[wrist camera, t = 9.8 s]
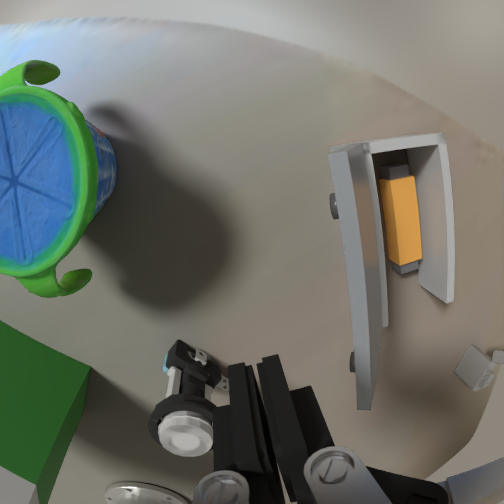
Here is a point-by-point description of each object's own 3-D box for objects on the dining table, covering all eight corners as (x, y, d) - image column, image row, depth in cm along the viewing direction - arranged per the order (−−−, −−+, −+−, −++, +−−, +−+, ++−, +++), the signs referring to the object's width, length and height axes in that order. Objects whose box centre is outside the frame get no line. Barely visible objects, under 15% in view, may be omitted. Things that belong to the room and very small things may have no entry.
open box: (424, 281, 28) (453, 300, 24) (352, 305, 28) (375, 330, 24) (411, 134, 24) (444, 132, 20) (329, 146, 24) (352, 144, 20)
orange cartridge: (411, 262, 28) (422, 268, 26) (389, 269, 28) (400, 276, 26) (399, 162, 25) (412, 163, 23) (376, 167, 25) (388, 168, 23)
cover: (370, 410, 16) (348, 409, 17) (382, 333, 23) (366, 333, 24) (346, 151, 12) (315, 155, 13) (362, 143, 19) (342, 146, 19)
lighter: (460, 373, 33) (495, 408, 26) (453, 372, 33) (488, 408, 25) (488, 325, 32) (528, 355, 24) (482, 323, 31) (523, 354, 24)
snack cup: (146, 263, 25) (109, 322, 16) (38, 268, 24) (-27, 317, 15) (137, 68, 21) (93, 19, 11) (26, 92, 20) (-49, 73, 10)
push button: (245, 361, 29) (257, 442, 19) (212, 396, 29) (213, 477, 20) (183, 324, 27) (170, 402, 17) (153, 364, 28) (133, 443, 18)
